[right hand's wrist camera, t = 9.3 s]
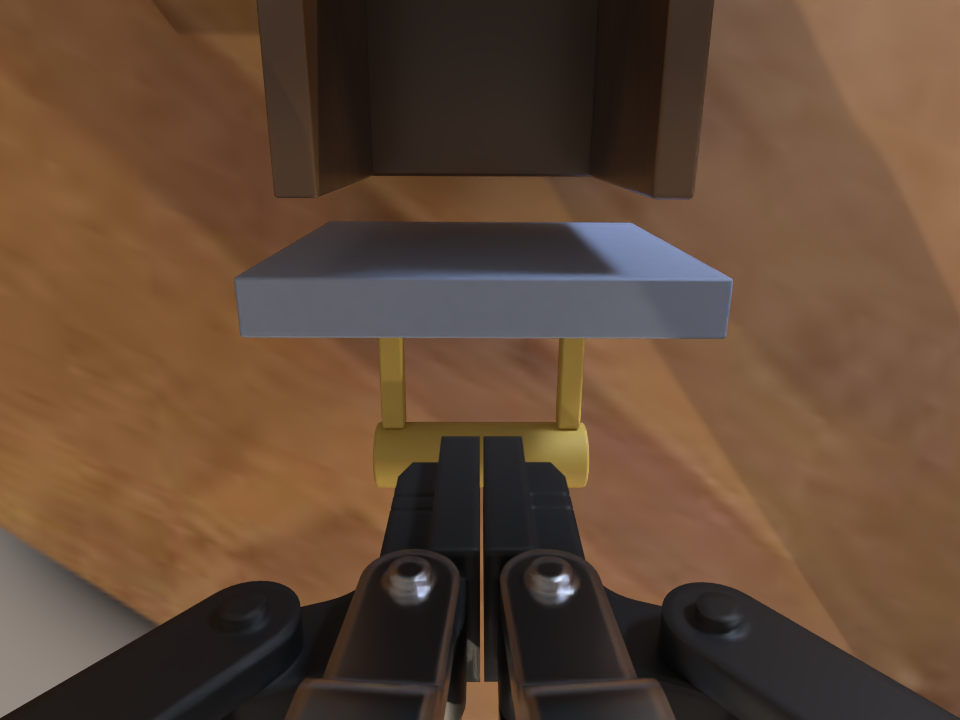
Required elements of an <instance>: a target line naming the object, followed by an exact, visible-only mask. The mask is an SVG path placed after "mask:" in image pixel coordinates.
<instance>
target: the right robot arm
mask: <svg viewBox="0 0 960 720" xmlns="http://www.w3.org/2000/svg"><path fill="white" fill-rule="evenodd" d="M483 571H484V682H498V696H499V718H498V720H960V718H958V717H957V716H955V715H953V714H952V713H950V712H948V711H946V710H945V709H943V708H941V707H939V706H938V705H936V704H934V703H933V702H931V701H929V700H927V699H926V698H924V697H922V696H921V695H919V694H917V693H915V692H914V691H912V690H910V689H908V688H907V687H905V686H903V685H902V684H900V683H898V682H896V681H895V680H893V679H891V678H890V677H888V676H886V675H884V674H883V673H881V672H879V671H878V670H876V669H874V668H872V667H871V666H869V665H867V664H865V663H864V662H862V661H860V660H859V659H857V658H855V657H853V656H852V655H850V654H848V653H847V652H845V651H843V650H841V649H840V648H838V647H836V646H834V645H833V644H831V643H829V642H828V641H826V640H824V639H822V638H821V637H819V636H817V635H816V634H814V633H812V632H810V631H809V630H807V629H805V628H804V627H802V626H800V625H798V624H797V623H795V622H793V621H791V620H790V619H788V618H786V617H785V616H783V615H781V614H779V613H778V612H776V611H774V610H773V609H771V608H769V607H767V606H766V605H764V604H762V603H760V602H759V601H757V600H755V599H754V598H752V597H750V596H748V595H747V594H745V593H743V592H741V591H738V590H736V589H733V588H731V587H728V586H724V585H720V584H715V583H705V582H698V583H689V584H684V585H681V586H679V587H677V588H675V589H673V590H672V591H671V592H669V593H668V594H667V596H666V597H665V599H664V601H663V604H662V606H658V605H654V604H650V603H645V602H641V601H637V600H633V599H630V598H626V597H624V596H621V595H619V594H617V593H615V592H613V591H611V590H609V589H607V588H606V587H604V586H603V585H602V582H601V579H600V577H599V575H598V573H597V571H596V570H595V569H594V567H593V566H592V565H591V564H589V563H588V562H587V561H585V557H584V553H583V549H582V544H581V540H580V536H579V532H578V528H577V523H576V519H575V515H574V511H573V506H572V502H571V498H570V497H569V490H568V485H567V481H566V477H565V476H564V475H563V474H562V473H561V472H560V471H559V470H558V469H557V468H556V467H555V466H554V465H553V464H552V463H551V462H525V456H524V448H523V441H522V436H483ZM466 682H480V436H442V437H441V444H440V452H439V461H438V462H412V463H411V464H410V465H409V466H408V467H407V468H406V469H405V470H404V471H403V472H402V473H401V474H400V475H399V476H398V479H397V484H396V488H395V493H394V497H393V501H392V506H391V511H390V515H389V519H388V523H387V528H386V532H385V536H384V541H383V545H382V550H381V554H380V557H379V558H378V559H376V560H375V561H373V562H372V563H371V564H369V565H368V566H367V567H366V569H365V570H364V571H363V573H362V575H361V577H360V579H359V582H358V585H357V587H356V590H354V591H352V592H351V593H349V594H347V595H344V596H342V597H339V598H336V599H332V600H329V601H325V602H320V603H316V604H312V605H307V606H303V607H300V601H299V599H298V596H297V595H296V594H295V592H294V591H292V590H291V589H290V588H288V587H287V586H285V585H282V584H279V583H276V582H270V581H252V582H245V583H240V584H237V585H233V586H230V587H228V588H225V589H223V590H221V591H219V592H217V593H215V594H213V595H212V596H210V597H208V598H206V599H205V600H203V601H201V602H200V603H198V604H196V605H194V606H193V607H191V608H189V609H187V610H186V611H184V612H182V613H181V614H179V615H177V616H175V617H174V618H172V619H170V620H169V621H167V622H165V623H163V624H162V625H160V626H158V627H157V628H155V629H153V630H151V631H150V632H148V633H146V634H144V635H143V636H141V637H139V638H138V639H136V640H134V641H132V642H131V643H129V644H127V645H126V646H124V647H122V648H120V649H119V650H117V651H115V652H114V653H112V654H110V655H108V656H107V657H105V658H103V659H101V660H100V661H98V662H96V663H95V664H93V665H91V666H89V667H88V668H86V669H84V670H83V671H81V672H79V673H77V674H76V675H74V676H72V677H70V678H69V679H67V680H65V681H64V682H62V683H60V684H58V685H57V686H55V687H53V688H52V689H50V690H48V691H46V692H45V693H43V694H41V695H39V696H38V697H36V698H34V699H33V700H31V701H29V702H28V703H26V704H24V705H22V706H21V707H19V708H17V709H16V710H14V711H12V712H10V713H9V714H7V715H5V716H3V717H2V718H0V720H462V718H461V717H462V715H463V712H464V709H465V704H466Z"/></svg>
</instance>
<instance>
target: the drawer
mask: <svg viewBox="0 0 960 720" xmlns="http://www.w3.org/2000/svg"><path fill="white" fill-rule="evenodd" d="M713 7H714V0H257V10H258V21H259V32H260V43H261V54H262V65H263V76H264V87H265V98H266V109H267V120H268V131H269V142H270V153H271V164H272V175H273V185H274V195H275V197H277V198H316V197H318V196H321V195H324V194H326V193H329V192H331V191H334V190H337V189H339V188H342V187H344V186H347V185H349V184H352V183H355V182H357V181H360V180H362V179H365V178H367V177H370V176H540V177H594V178H596V179H599V180H602V181H605V182H608V183H611V184H614V185H616V186H619V187H622V188H625V189H628V190H631V191H634V192H636V193H639V194H642V195H645V196H648V197H651V198H654V199H691V198H692V197H693V195H694V189H695V179H696V170H697V160H698V151H699V141H700V131H701V122H702V112H703V103H704V93H705V83H706V74H707V64H708V55H709V45H710V36H711V26H712V16H713ZM234 283H235V292H236V300H237V309H238V318H239V326H240V335H241V337H270V338H378V344H379V365H380V387H381V409H382V422H380V423H378V425H377V427H376V431H375V436H374V447H373V471H374V479H375V483H376V485H377V486H378V487H396V484H397V479H398V476H399V475H400V474H401V473H402V472H403V471H404V470H405V469H406V468H407V467H408V466H409V465H410V464H411V463H412V462H438V461H439V452H440V444H441V437H442V436H480V487H483V436H522V441H523V448H524V456H525V462H551V463H552V464H553V465H554V466H555V467H556V468H557V469H558V470H559V471H560V472H561V473H562V474H563V475H564V476H565V477H566V481H567V485H568V487H584V486H585V485H586V483H587V479H588V473H589V444H588V435H587V431H586V427H585V425H584V424H583V423H581V422H580V416H581V399H582V381H583V364H584V347H585V338H676V339H723V338H726V334H727V326H728V318H729V310H730V303H731V295H732V287H733V279H731V278H730V277H728V276H726V275H724V274H723V273H721V272H719V271H717V270H715V269H714V268H712V267H710V266H708V265H706V264H705V263H703V262H701V261H699V260H697V259H696V258H694V257H692V256H690V255H688V254H687V253H685V252H683V251H681V250H679V249H678V248H676V247H674V246H672V245H670V244H669V243H667V242H665V241H663V240H661V239H660V238H658V237H656V236H654V235H652V234H651V233H649V232H647V231H645V230H643V229H642V228H640V227H638V226H636V225H634V224H633V223H575V222H328V223H326V224H325V225H323V226H321V227H320V228H318V229H316V230H314V231H313V232H311V233H309V234H308V235H306V236H304V237H303V238H301V239H299V240H298V241H296V242H294V243H292V244H291V245H289V246H287V247H286V248H284V249H282V250H281V251H279V252H277V253H276V254H274V255H272V256H270V257H269V258H267V259H265V260H264V261H262V262H260V263H259V264H257V265H255V266H253V267H252V268H250V269H248V270H247V271H245V272H243V273H242V274H240V275H238V276H237V277H235V279H234ZM404 338H559V356H558V379H557V401H556V422H406V392H405V362H404Z"/></svg>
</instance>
